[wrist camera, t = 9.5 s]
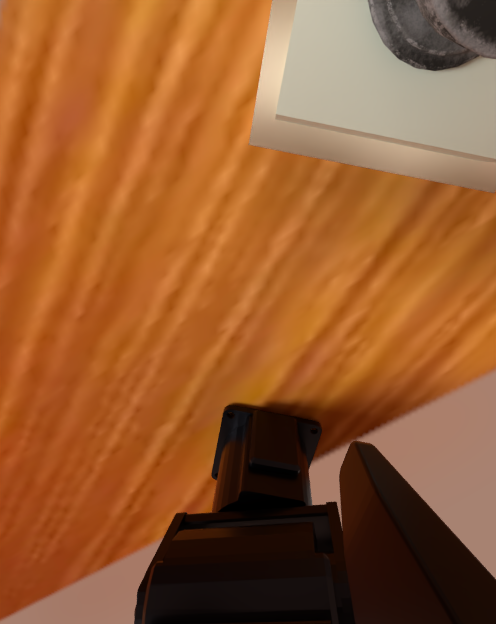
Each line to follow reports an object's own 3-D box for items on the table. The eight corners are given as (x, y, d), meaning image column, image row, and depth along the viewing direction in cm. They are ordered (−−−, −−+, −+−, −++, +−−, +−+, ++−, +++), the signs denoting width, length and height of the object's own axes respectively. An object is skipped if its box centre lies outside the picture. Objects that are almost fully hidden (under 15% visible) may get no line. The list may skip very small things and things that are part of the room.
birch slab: (466, 187, 18) (494, 193, 16) (251, 145, 18) (248, 144, 16) (591, -115, 13) (656, -170, 11) (305, -177, 13) (312, -244, 11)
